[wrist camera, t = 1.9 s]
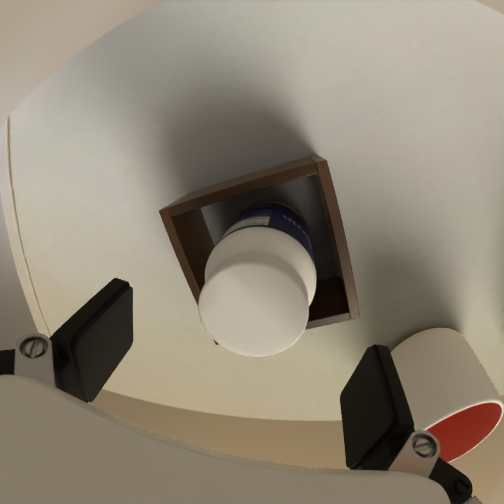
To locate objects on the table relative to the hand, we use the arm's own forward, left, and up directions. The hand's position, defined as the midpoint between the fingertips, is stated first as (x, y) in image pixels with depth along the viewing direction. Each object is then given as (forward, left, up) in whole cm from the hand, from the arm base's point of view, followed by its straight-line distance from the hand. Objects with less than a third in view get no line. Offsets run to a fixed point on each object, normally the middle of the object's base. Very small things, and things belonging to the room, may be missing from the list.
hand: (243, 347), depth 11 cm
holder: (0, 0, -12) cm, 12 cm away
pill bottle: (0, 0, -12) cm, 12 cm away
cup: (+16, +11, -12) cm, 23 cm away
